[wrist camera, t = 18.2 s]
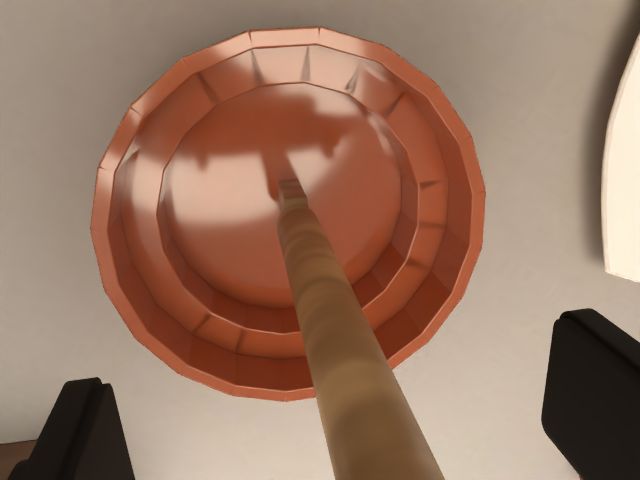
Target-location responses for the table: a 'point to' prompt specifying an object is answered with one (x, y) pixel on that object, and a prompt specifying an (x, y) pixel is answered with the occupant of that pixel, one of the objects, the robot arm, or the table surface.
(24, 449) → the utensil stand
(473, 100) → the table surface
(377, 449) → the stick
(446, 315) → the bowl
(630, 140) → the plate
